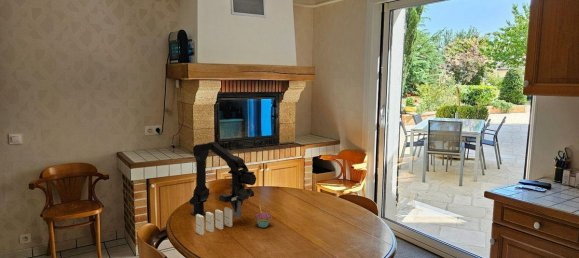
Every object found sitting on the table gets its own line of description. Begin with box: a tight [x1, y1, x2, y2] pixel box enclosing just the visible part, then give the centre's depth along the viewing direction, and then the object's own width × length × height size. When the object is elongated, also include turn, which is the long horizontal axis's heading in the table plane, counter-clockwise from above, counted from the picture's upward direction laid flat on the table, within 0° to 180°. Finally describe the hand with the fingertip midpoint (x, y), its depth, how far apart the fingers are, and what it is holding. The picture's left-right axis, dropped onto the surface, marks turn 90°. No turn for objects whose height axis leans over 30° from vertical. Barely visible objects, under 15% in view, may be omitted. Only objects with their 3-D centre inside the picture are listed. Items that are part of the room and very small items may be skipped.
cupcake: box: [254, 204, 273, 228], centre depth 205 cm, size 9×8×12 cm
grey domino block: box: [232, 199, 242, 220], centre depth 208 cm, size 2×5×9 cm, turn 42°
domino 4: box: [223, 206, 233, 228], centre depth 205 cm, size 2×5×9 cm, turn 42°
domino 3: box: [214, 209, 224, 230], centre depth 201 cm, size 2×5×9 cm, turn 42°
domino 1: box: [195, 214, 205, 236], centre depth 194 cm, size 2×5×9 cm, turn 43°
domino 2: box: [205, 211, 215, 233], centre depth 198 cm, size 2×5×9 cm, turn 42°
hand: (237, 211), depth 209 cm, fingers closed on grey domino block, 2 cm apart
